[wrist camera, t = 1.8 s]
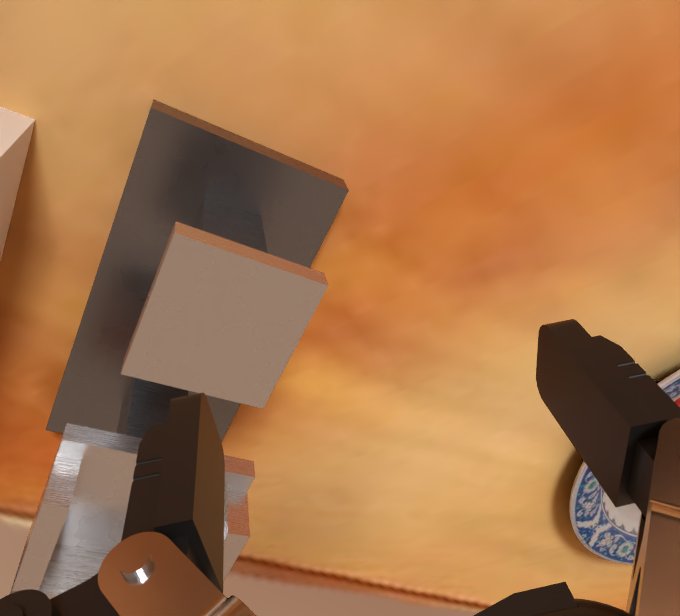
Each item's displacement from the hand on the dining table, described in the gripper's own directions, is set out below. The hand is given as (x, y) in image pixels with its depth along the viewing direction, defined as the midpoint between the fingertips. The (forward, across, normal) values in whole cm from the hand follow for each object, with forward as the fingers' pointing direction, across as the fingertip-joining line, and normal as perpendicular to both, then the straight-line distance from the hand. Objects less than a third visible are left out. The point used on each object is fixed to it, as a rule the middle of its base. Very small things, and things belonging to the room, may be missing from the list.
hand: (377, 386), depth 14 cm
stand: (+19, +8, +8) cm, 22 cm away
